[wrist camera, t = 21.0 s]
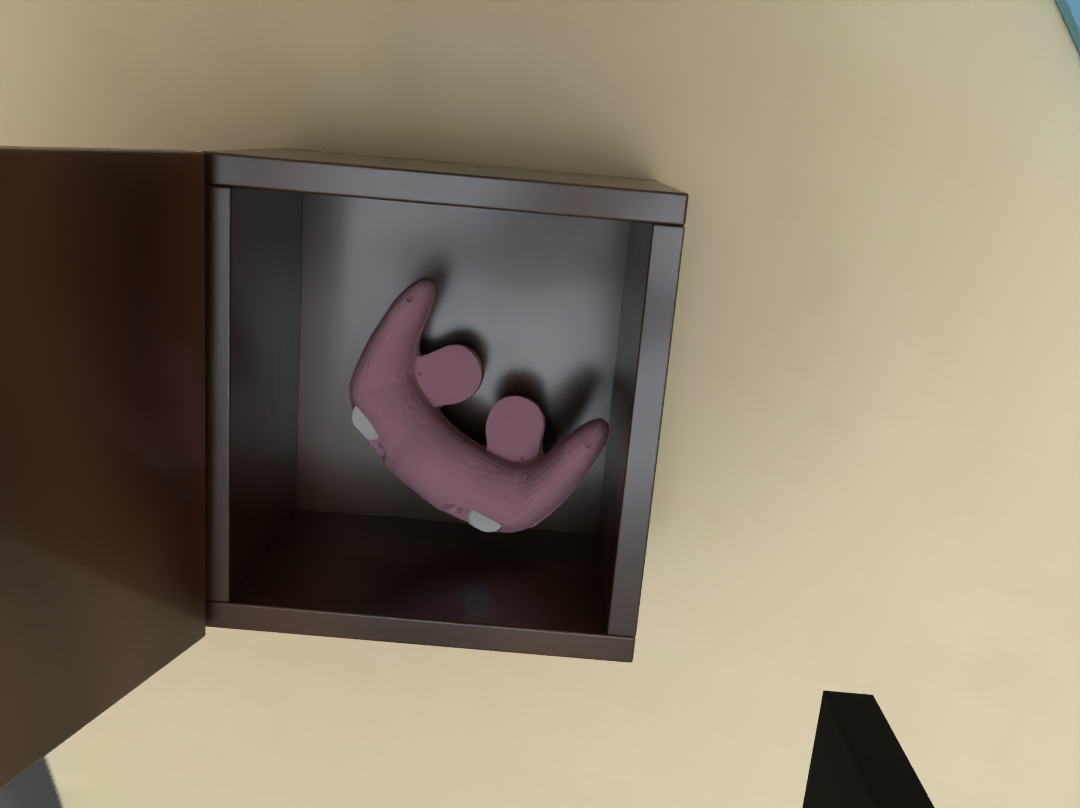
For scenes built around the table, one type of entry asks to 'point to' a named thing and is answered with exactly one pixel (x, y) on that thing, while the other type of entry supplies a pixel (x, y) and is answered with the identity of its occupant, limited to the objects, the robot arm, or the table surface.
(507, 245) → the chest
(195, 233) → the chest lid
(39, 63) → the table surface
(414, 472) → the video game controller
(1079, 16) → the chair
